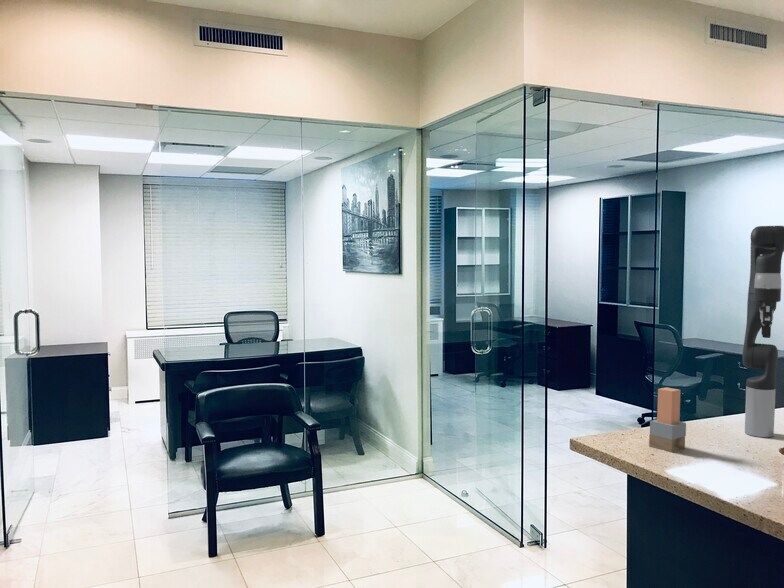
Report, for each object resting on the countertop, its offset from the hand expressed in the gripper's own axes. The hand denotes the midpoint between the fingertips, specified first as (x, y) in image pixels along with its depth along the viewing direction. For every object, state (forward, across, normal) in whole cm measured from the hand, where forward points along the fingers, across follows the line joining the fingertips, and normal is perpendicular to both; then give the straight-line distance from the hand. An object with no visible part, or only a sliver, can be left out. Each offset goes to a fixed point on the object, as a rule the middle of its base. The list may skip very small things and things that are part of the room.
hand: (765, 336), depth 205 cm
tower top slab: (+34, +12, -28) cm, 45 cm away
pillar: (+29, +12, -28) cm, 42 cm away
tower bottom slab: (+38, +12, -28) cm, 49 cm away
